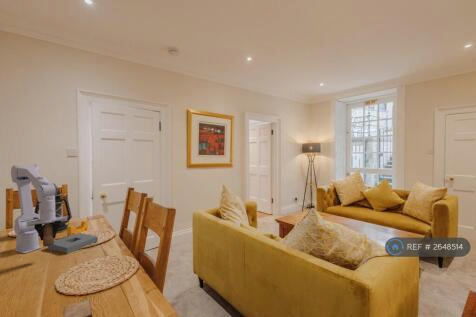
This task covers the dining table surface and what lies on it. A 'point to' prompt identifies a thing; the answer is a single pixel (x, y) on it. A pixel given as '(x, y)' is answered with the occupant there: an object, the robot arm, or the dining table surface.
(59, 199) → the lantern
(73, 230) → the pipe clamp
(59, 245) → the hole block
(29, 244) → the robot arm
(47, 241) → the peg
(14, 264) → the dining table surface
